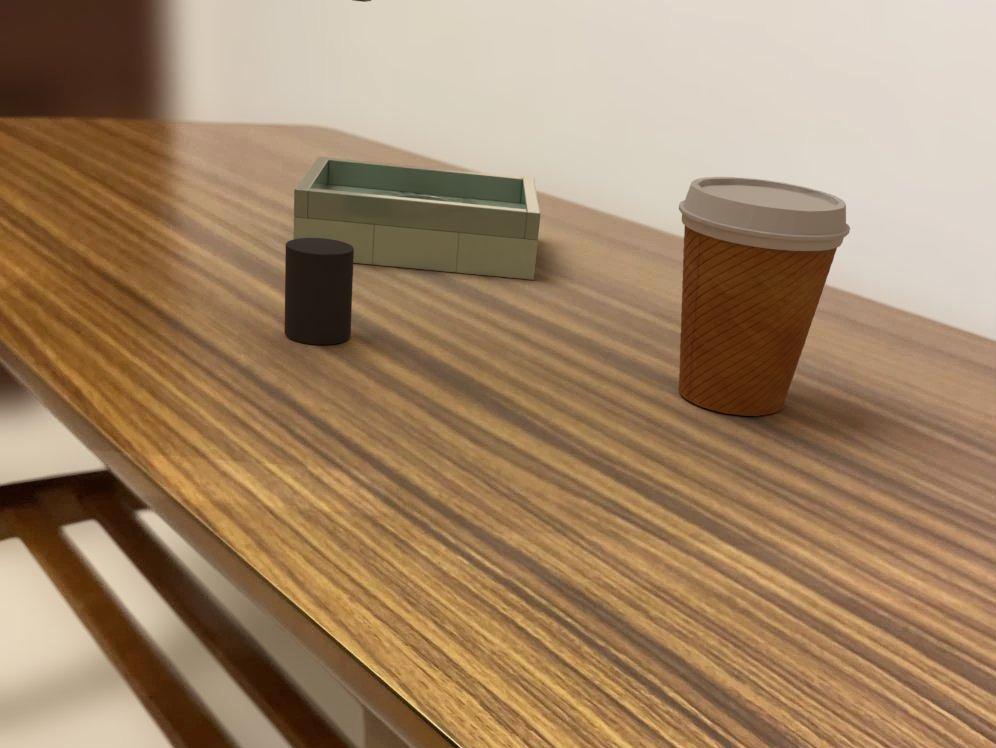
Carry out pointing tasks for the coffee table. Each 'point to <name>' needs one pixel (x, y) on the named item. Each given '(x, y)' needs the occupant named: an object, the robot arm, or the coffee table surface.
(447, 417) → the coffee table surface
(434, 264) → the green tray
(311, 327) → the stopper
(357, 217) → the basin rim
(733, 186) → the disposable coffee cup
